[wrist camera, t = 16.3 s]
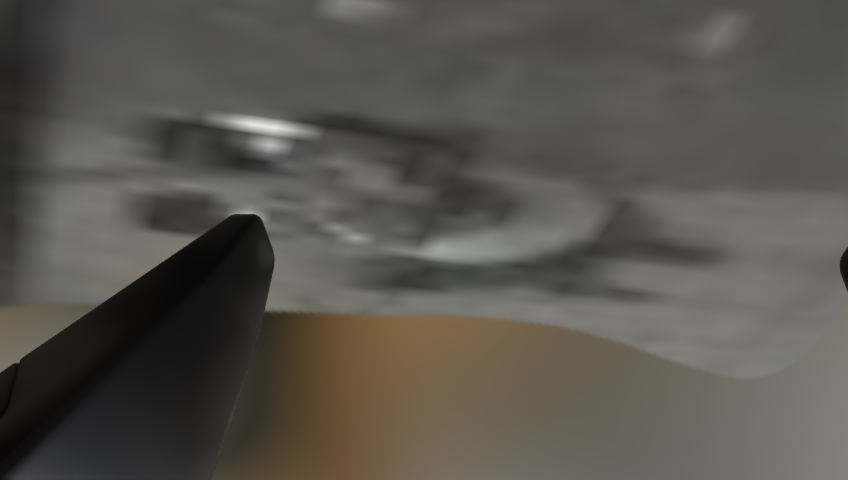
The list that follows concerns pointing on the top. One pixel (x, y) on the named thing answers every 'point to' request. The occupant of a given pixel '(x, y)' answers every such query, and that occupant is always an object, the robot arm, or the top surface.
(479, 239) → the top surface
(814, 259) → the top surface
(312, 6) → the top surface
